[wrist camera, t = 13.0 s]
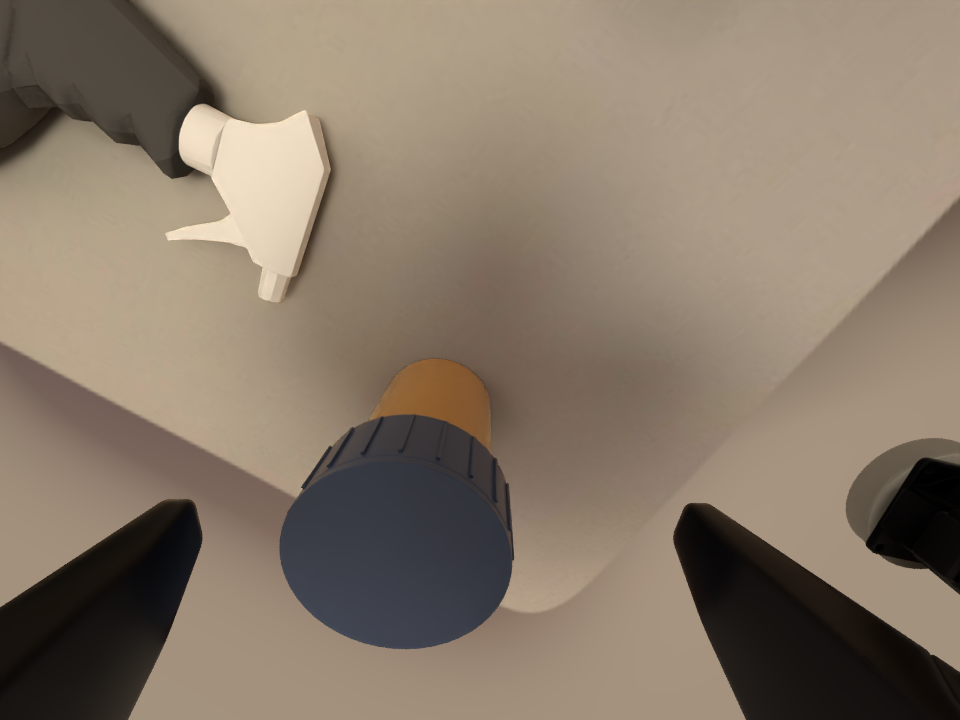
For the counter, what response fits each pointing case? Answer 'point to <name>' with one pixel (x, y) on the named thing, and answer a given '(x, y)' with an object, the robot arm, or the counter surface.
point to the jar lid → (401, 534)
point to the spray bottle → (165, 122)
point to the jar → (440, 397)
